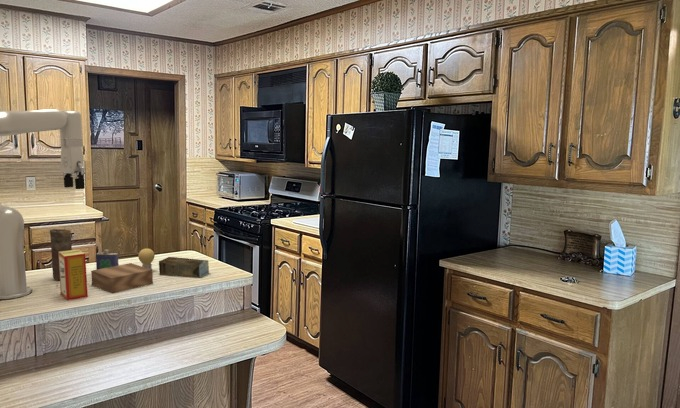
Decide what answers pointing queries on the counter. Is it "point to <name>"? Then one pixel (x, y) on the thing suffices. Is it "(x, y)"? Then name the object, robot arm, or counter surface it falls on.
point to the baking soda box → (72, 274)
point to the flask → (106, 260)
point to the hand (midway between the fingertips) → (74, 188)
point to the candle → (59, 247)
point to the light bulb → (146, 257)
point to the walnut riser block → (121, 277)
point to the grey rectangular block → (183, 267)
